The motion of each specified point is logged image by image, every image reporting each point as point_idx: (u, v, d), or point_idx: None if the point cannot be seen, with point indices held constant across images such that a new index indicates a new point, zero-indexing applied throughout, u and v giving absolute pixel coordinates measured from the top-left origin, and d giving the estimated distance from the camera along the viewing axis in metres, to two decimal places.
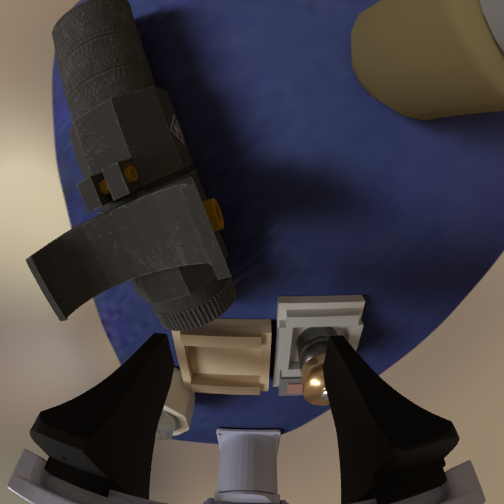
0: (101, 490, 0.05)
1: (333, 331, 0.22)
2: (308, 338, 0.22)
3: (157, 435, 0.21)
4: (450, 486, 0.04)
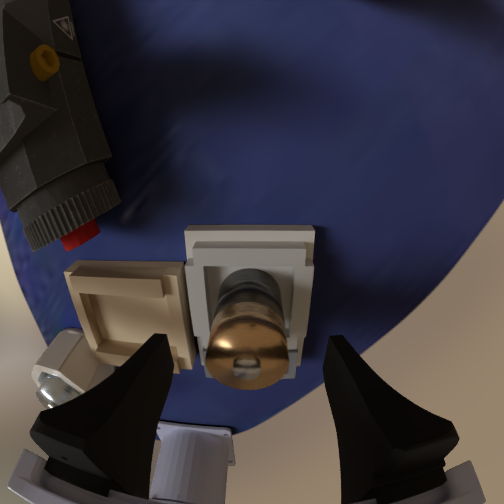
0: (101, 490, 0.05)
1: (269, 278, 0.16)
2: (228, 285, 0.15)
3: None
4: (450, 486, 0.04)
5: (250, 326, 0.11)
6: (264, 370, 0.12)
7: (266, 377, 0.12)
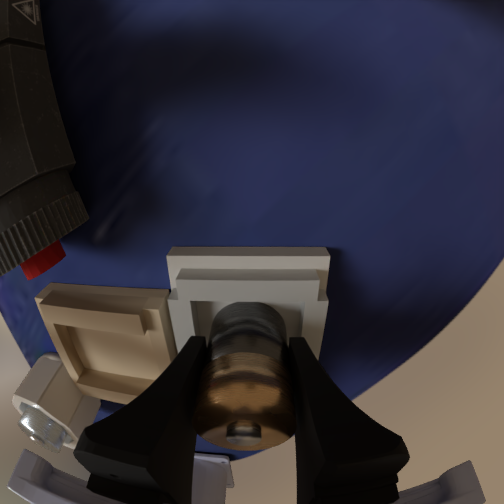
0: (101, 490, 0.05)
1: (273, 313, 0.13)
2: (221, 323, 0.12)
3: (41, 445, 0.12)
4: (450, 486, 0.04)
5: (248, 389, 0.08)
6: (265, 434, 0.09)
7: (268, 440, 0.09)
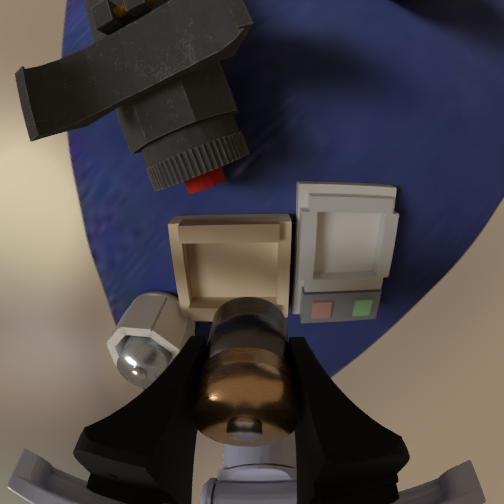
0: (101, 490, 0.05)
1: (274, 310, 0.13)
2: (223, 318, 0.12)
3: (143, 378, 0.18)
4: (450, 486, 0.04)
5: (251, 384, 0.08)
6: (266, 430, 0.09)
7: (268, 436, 0.09)
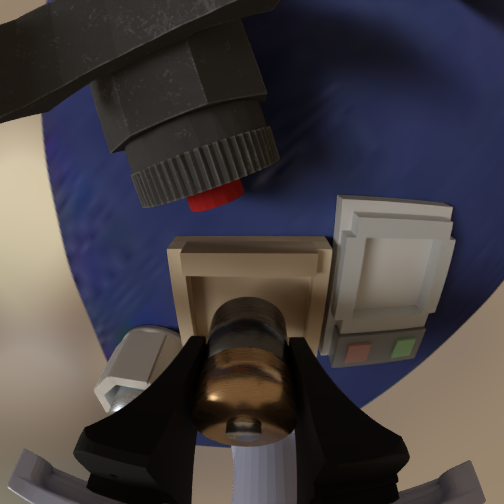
0: (101, 490, 0.05)
1: (273, 310, 0.13)
2: (222, 318, 0.12)
3: None
4: (450, 486, 0.04)
5: (249, 384, 0.08)
6: (265, 430, 0.09)
7: (267, 436, 0.09)
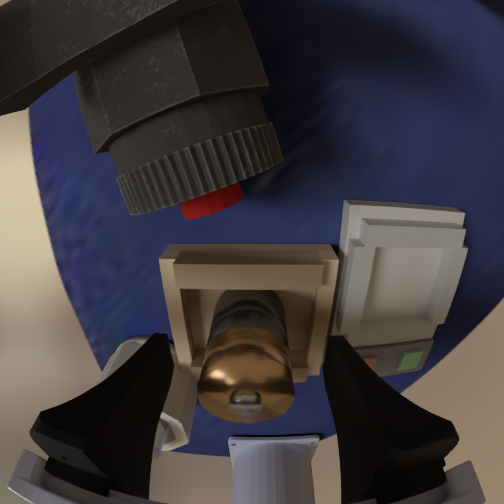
0: (101, 490, 0.05)
1: (272, 295, 0.14)
2: (225, 302, 0.13)
3: None
4: (450, 486, 0.04)
5: (251, 358, 0.09)
6: (265, 405, 0.10)
7: (267, 412, 0.10)
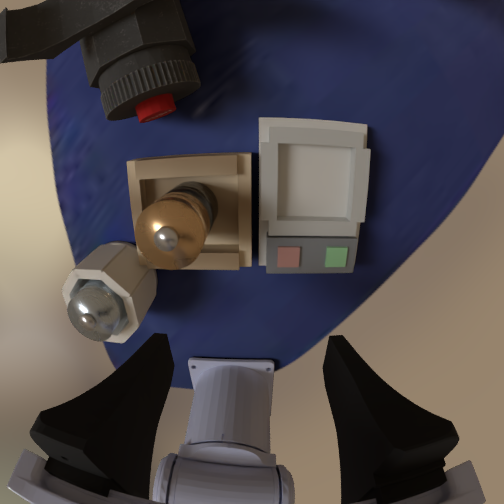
0: (101, 490, 0.05)
1: (206, 188, 0.18)
2: None
3: (91, 326, 0.16)
4: (450, 486, 0.04)
5: (170, 199, 0.13)
6: (182, 244, 0.14)
7: (185, 254, 0.14)
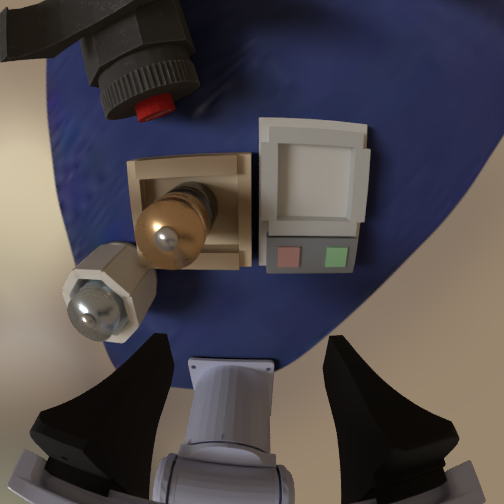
0: (101, 490, 0.05)
1: (206, 188, 0.18)
2: None
3: (91, 326, 0.16)
4: (450, 486, 0.04)
5: (170, 199, 0.13)
6: (182, 245, 0.14)
7: (185, 254, 0.14)
